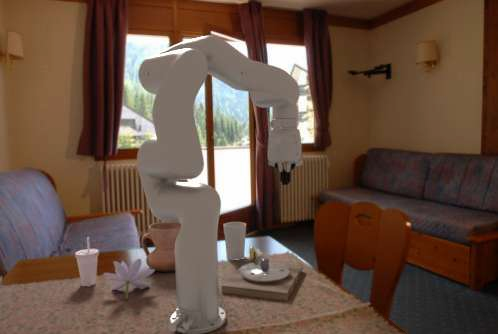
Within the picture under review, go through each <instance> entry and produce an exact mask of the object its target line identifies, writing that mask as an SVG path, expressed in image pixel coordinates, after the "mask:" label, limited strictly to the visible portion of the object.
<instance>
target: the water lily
mask: <svg viewBox="0 0 498 334" xmlns="http://www.w3.org/2000/svg"><path fill="white" fill-rule="evenodd" d="M113 265H114V267H115V269H114V272H115V273H116V274H117V275H116V274H114V273H111V272H104V273H103V275H104V276H105V277H108V279H111V280H113V281H116V282H117V281H118V283H116V284H114V285H113V286H111V290H112V291H118V290H121V289H123V288H125V287H126V288H125V301H126V300H129V287H130V286H129V285H132V286H133V287H136V288H145V289H146V288H147V287H148V288H150V287H151V285H150V284H149V283H148V282H142V281H141V280H143V279H146V278H148V277H149V276H151V275H152V274H154V272H155V271H156V270H155V269H151V268H148V266H147V267H143V268H141V267H142V259H141V258H137V259H135V260H134V262H133V263H131V264H130V265H129V267H128V265H127V264H126V262H125V261H124V260H122V261H121V262H118V261H116V260H115V261H113ZM147 268H148V269H147ZM148 288H147V289H148Z"/></svg>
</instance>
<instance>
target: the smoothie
mask: <svg viewBox="0 0 498 334" xmlns="http://www.w3.org/2000/svg"><path fill="white" fill-rule="evenodd" d="M86 244H87V245H86V246H87V248H86V249H81V250H78V251H76V252H75V254H74V257H75V258H76V262H77V267H78V273H79V277H80V282H81V283H80V284H81V286H82V287H84V286H88V287H92V286H94V285H96V282H97V269H98V261H99V259H98V258H99V257H98V256H99V254H100V250H99V249H97V248H90V246H91V245H90V236H87V237H86ZM91 285H92V286H91Z"/></svg>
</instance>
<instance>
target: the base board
mask: <svg viewBox="0 0 498 334" xmlns="http://www.w3.org/2000/svg"><path fill="white" fill-rule="evenodd" d="M255 262H256V261H255ZM249 263H250V259H248V260H246V262H245V263H243V264H242V265H241V266H240V267H239V268H238V269H237V270H236V271H235V272H234V273H233V274H232V275H231V276H230V277H229V278H228V279H227V280H226V281H225V282H223V284H222V285H221V293H222V294H228V295H237V296H243V297H244V296H245V297H251V298H253V297H254V298H261V299H268V300H269V299H270V300H277V301H278V300H279V301H286V302H287V301H288V300H289V298H290V296H291V294H292V293H293V291H294V288H295V286H296V285H297V283H298V281H299V279H300V278H299V276H300V274H301V272H302V270H304V269H303V266H304V265H303V264H295V263H293V264H292V263H281V262H280V263H281V264H284V265H286V266H287V267H288V268H289V277H288V278H287V279H285V280H283V281H281V282H277V283H269V284H261V283H253V282H249V281H246V280H244V279H243V278H242V277H241V268H242V267H243V266H244V265H247V264H249ZM302 273H303V272H302ZM301 275H302V274H301ZM300 277H301V276H300ZM298 278H299V279H298ZM297 280H298V281H297Z"/></svg>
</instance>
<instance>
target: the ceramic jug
mask: <svg viewBox="0 0 498 334" xmlns="http://www.w3.org/2000/svg"><path fill="white" fill-rule="evenodd" d="M180 229H181V224H178V223H173V222H167V221H164V222H162V221H161V222H155V223H151V224H150V225H148V231H149V232H146V233H144V234H143V235H142V237H141V243H140V244H141V246H142V249H143V252H144V253H145V256H146V259H145V263H146V265H147V267H148V268H149V269H155V271H156V272H163V273H168V272H176V270H175V241H176V238H177V236H178V233H179V231H180ZM147 238H148V239H149V240H151V241H152V244H153V245H154V249H153V250H152V251H150V250H149V249H148V246H147Z"/></svg>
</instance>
